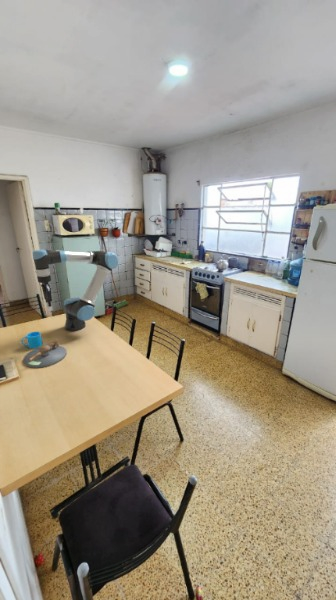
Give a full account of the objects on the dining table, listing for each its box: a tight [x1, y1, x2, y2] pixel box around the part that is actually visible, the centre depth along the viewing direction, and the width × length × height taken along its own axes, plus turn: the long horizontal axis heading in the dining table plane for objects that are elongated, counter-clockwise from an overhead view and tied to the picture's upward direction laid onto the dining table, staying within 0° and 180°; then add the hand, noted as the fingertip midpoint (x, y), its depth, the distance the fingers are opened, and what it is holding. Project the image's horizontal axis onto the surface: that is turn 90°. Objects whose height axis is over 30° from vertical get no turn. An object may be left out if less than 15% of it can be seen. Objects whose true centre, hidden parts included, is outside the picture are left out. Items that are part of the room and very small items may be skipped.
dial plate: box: [22, 345, 68, 369], centre depth 155 cm, size 24×24×4 cm
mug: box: [20, 331, 43, 349], centre depth 166 cm, size 12×8×8 cm
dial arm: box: [30, 339, 60, 360], centre depth 154 cm, size 22×6×4 cm, turn 163°
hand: (50, 310), depth 163 cm, fingers closed
